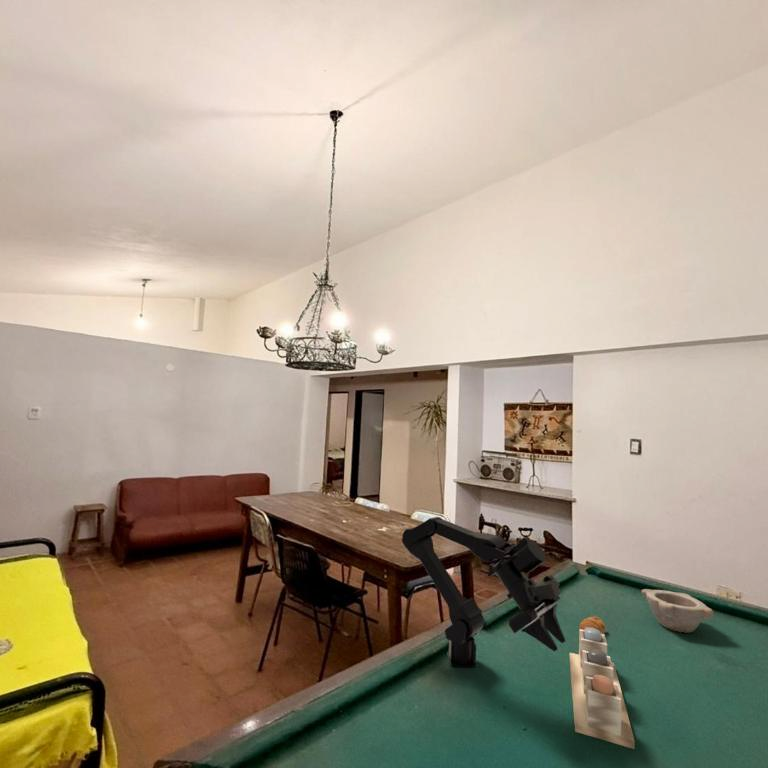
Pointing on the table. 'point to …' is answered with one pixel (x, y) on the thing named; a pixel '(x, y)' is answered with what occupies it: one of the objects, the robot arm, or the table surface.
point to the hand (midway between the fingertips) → (560, 646)
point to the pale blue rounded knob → (592, 634)
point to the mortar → (677, 609)
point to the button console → (598, 697)
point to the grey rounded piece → (597, 657)
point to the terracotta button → (602, 684)
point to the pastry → (593, 624)
